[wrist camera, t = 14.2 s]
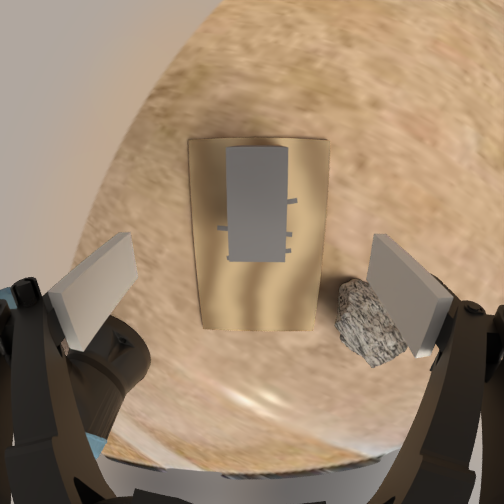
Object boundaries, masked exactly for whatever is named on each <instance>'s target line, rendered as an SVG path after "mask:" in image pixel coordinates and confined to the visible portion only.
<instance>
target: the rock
mask: <svg viewBox="0 0 504 504" xmlns="http://www.w3.org/2000/svg"><path fill="white" fill-rule="evenodd" d="M335 327H336V328H337V329H338V331H339V332H340V333H341V335H340V339H341V342H343V343H344V344H345V345H346V346H347V347H348V348H349V349H350V350H351V351H353V352H355V353H357V354H358V355H361V356H362V357H363V358H364V359H365V360H366V362H367V363H368V364H369V365H370V366H371V368H374V367H375V366H379V365H382V364H383V363H386V362H388V361H390V360H392V359H394V358H395V357H396V356H398V355H399V354H400V353H402V352H405V350H406V349H407V346H408V345H407V343H406V341H405V340H404V338H403V336H402V335H401V333H400V331H399V330H398V328H397V327H396V325H395V323H394V322H393V320H392V318H391V317H390V315H389V314H388V312H387V310H386V309H385V307H384V306H383V304H382V303H381V301H380V300H379V298H378V296H377V295H376V293H375V292H374V290H373V289H372V287H371V286H370V285H369V284H368V283H365V282H362V280H361V279H352V280H350V281H349V282H348V283H344V284H342V285H341V287H340V289H339V295H338V315H337V319H336V321H335Z"/></svg>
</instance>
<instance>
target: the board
mask: <svg viewBox="0 0 504 504" xmlns="http://www.w3.org/2000/svg"><path fill="white" fill-rule="evenodd" d="M236 145H280V146H285V147H288V197H287V228H286V253H285V262H229V249H228V221H227V186H226V147H230V146H236ZM329 162H330V141H329V140H315V139H297V138H214V139H195V140H189V169H190V190H191V207H192V222H193V235H194V248H195V259H196V270H197V280H198V289H199V298H200V307H201V315H202V323H203V329H212V330H236V331H313V328H314V322H315V315H316V308H317V301H318V293H319V285H320V277H321V268H322V259H323V249H324V238H325V227H326V214H327V200H328V184H329Z"/></svg>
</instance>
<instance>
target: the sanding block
mask: <svg viewBox="0 0 504 504" xmlns="http://www.w3.org/2000/svg"><path fill="white" fill-rule="evenodd" d="M226 186H227V221H228V249H229V262H285V253H286V228H287V197H288V147H285V146H280V145H236V146H230V147H226Z"/></svg>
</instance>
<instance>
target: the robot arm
mask: <svg viewBox="0 0 504 504" xmlns="http://www.w3.org/2000/svg"><path fill="white" fill-rule="evenodd" d="M137 278H138V273H137V268H136V262H135V256H134V251H133V244H132V238H131V232H119V233H118V234H116V235H115V236H114V237H112V238H111V239H110V240H109V241H107V242H106V243H105V244H103V245H102V246H101V247H100V248H98V249H97V250H96V251H95V252H93V253H92V254H91V255H90V256H88V257H87V258H86V259H85V260H83V261H82V262H81V263H80V264H79V265H77V266H76V267H75V268H74V269H73V270H72V271H70V272H69V273H68V274H67V275H66V276H65V277H63V278H62V279H61V280H60V281H59V282H58V283H57V284H55V285H54V286H53V287H52V288H51V289H50V290H49V291H48V292H47V293H46V294H45V295H43V296H42V295H41V292H40V289H39V286H38V283H37V280H36V278H34V277H28V278H24V279H22V280H19V281H17V282H16V283H14V284H13V285H12V286H11V287H7V288H4V289H2V290H0V504H11V493H12V497H13V501H14V504H192V503H189V502H187V501H184V500H182V499H179V498H175V497H170V496H165V495H160V494H156V493H151V492H147V491H143V490H139V489H135V491H134V494H133V496H128V497H116V495H115V494H114V492H113V491H112V490H111V489H110V487H109V486H108V485H107V483H106V481H105V480H104V478H103V476H102V473H101V471H100V469H99V467H98V464H97V462H96V459H97V458H98V457H99V455H100V453H101V451H102V450H103V448H104V446H105V444H106V443H107V438H108V436H109V433H110V431H111V429H112V426H113V424H114V421H115V419H116V416H117V414H118V412H119V409H120V407H121V405H122V402H123V400H124V398H125V396H126V394H127V393H128V392H129V391H130V390H131V389H132V388H133V387H134V386H135V385H136V384H137V383H138V382H139V381H141V380H142V379H143V378H144V377H145V375H146V373H147V371H148V369H149V366H150V363H151V357H150V353H149V350H148V348H147V346H146V344H145V343H144V341H143V340H142V339H141V337H140V336H139V335H138V334H137V333H136V332H135V331H134V330H133V329H132V328H130V327H129V326H128V325H126V324H125V323H123V322H122V321H120V320H118V319H116V318H114V317H112V316H109V315H110V314H111V312H112V311H113V310H114V308H115V307H116V306H117V304H118V303H119V302H120V300H121V299H122V298H123V296H124V295H125V294H126V292H127V291H128V290H129V288H130V287H131V286H132V285H133V283H134V282H135V281H136V280H137ZM366 280H367V281H368V283H369V284H370V286H371V287H372V289H373V290H374V292H375V293H376V295H377V296H378V298H379V300H380V301H381V303H382V304H383V306H384V307H385V309H386V310H387V312H388V314H389V315H390V317H391V318H392V320H393V322H394V323H395V325H396V327H397V328H398V330H399V331H400V333H401V335H402V336H403V338H404V340H405V341H406V343H407V345H408V347H409V348H410V350H411V352H412V353H413V355H414V357H415V358H420V357H425V356H430V355H431V353H432V350H433V348H434V346H435V344H436V345H437V346H438V348H439V349H440V350H439V352H438V354H437V356H436V358H435V361H434V363H433V365H432V366H431V368H430V371H432V373H431V376H430V379H429V382H428V385H427V388H426V391H425V393H424V396H423V399H422V401H421V404H420V407H419V409H418V412H417V414H416V417H415V419H414V421H413V424H412V426H411V428H410V430H409V433H408V435H407V437H406V439H405V441H404V443H403V445H402V447H401V449H400V451H399V453H398V455H397V458H396V459H395V461H394V463H393V465H392V467H391V469H390V470H389V472H388V474H387V476H386V477H385V479H384V481H383V483H382V484H381V486H380V487H379V489H378V490H377V492H376V494H375V495H374V496H373V497H372V499H371V500H370V501H369V502H368V503H367V504H468V502H469V499H470V496H471V493H472V490H473V487H474V484H475V479H476V474H475V471H471V470H469V462H470V459H471V455H472V451H473V447H474V443H475V438H476V433H477V429H478V423H479V418H480V413H481V419H482V444H483V454H482V459H483V460H482V479H481V491H480V500H479V504H504V305H500V306H499V307H498V309H497V312H496V314H495V315H487V314H486V312H485V310H484V309H483V308H482V307H481V306H480V305H479V304H477V303H475V302H472V301H468V300H466V301H461V300H460V299H459V298H458V297H457V296H456V295H455V294H454V293H453V292H452V291H451V290H450V289H448V287H447V286H446V285H445V284H443V282H442V281H441V280H439V279H438V278H437V277H436V276H434V275H432V274H430V273H429V272H428V271H427V270H426V269H425V268H424V267H423V266H422V265H420V264H419V263H418V262H417V261H416V260H415V259H414V258H413V257H412V256H411V255H410V254H408V253H407V252H406V251H405V250H404V249H403V248H402V247H401V246H399V245H398V244H397V243H396V242H395V241H394V240H393V239H391V238H390V237H389V236H388V235H387V234H374V237H373V243H372V250H371V256H370V262H369V268H368V273H367V278H366ZM64 338H66V341H67V343H68V345H69V347H70V348H69V352H68V355H67V356H66V355H65V353H64V349H63V347H62V345H61V342H62V341H63V339H64ZM502 357H503V359H502ZM501 359H502V360H501ZM13 432H14V440H15V446H12V442H13ZM304 504H326V501H323V502H315V503H304Z"/></svg>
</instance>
